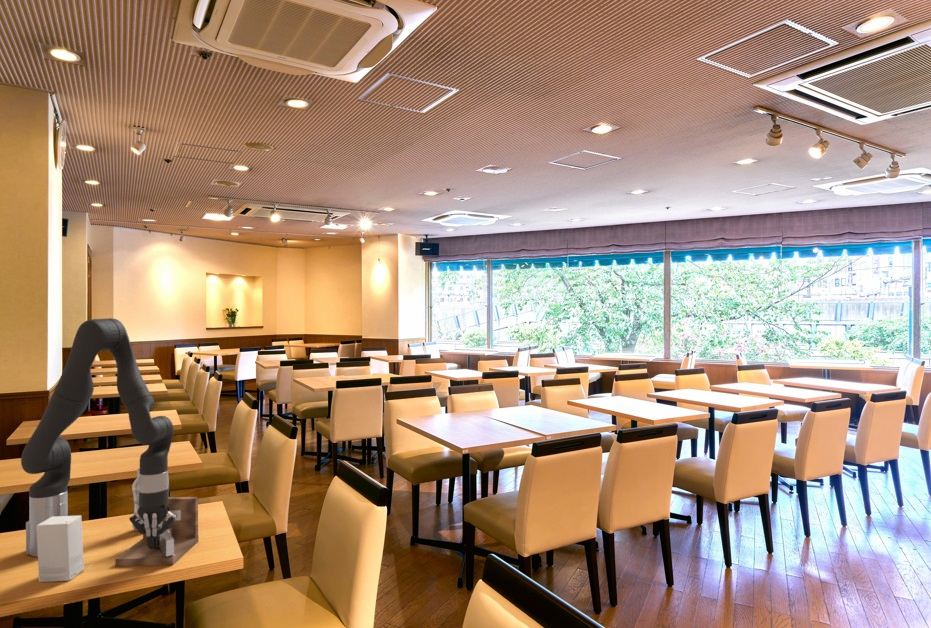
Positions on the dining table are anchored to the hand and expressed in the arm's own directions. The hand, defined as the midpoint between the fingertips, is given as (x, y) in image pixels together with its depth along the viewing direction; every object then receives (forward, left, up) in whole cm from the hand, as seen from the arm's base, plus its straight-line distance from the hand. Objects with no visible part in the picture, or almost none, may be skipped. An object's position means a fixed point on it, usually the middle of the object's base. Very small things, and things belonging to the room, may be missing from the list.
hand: (153, 548), depth 160 cm
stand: (-2, +6, -4) cm, 7 cm away
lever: (+1, +4, -2) cm, 4 cm away
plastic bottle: (-16, +24, -4) cm, 29 cm away
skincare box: (-21, -8, -4) cm, 22 cm away
